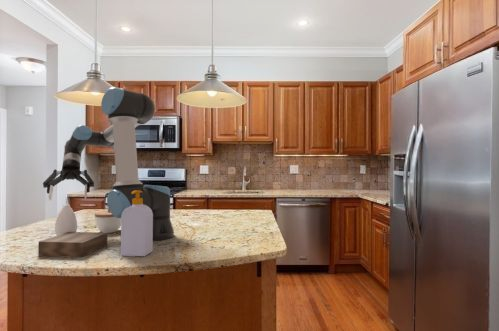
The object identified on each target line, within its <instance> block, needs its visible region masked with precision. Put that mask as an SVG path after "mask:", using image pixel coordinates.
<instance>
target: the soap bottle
mask: <svg viewBox="0 0 499 331" xmlns="http://www.w3.org/2000/svg"><path fill="white" fill-rule="evenodd" d="M134 193H136V198H133V199H132V206H130V207H128V208H126V209H125V210H124V211H123V212H122V215H121V226H120V255H121V256H122V257H135V256H144V257H146V256H147V255H149V254H150V253H152V252H153V250H154V249H153V247H154V246H153V245H154V244H153V241H154V240H153V213H152V210H151V209H150V207H148V206H146V205H143V198H140V193H142V191H139V190H135V191H132V193H131V194H134Z"/></svg>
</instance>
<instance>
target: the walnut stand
mask: <svg viewBox="0 0 499 331" xmlns="http://www.w3.org/2000/svg"><path fill="white" fill-rule="evenodd" d="M106 246H108V233H102V232H93V231H80V232H79V231H76V232H67V233H64V234H61V235H58V236H57V235H56V236H51V237H48V238H46V239H42V240H39V241H38V249H37V250H38V254H37V255H38V257H59V256H70V257H69V258H83V256H84V257H86V256H88V255H89V254H92V253H94V252H96V251H98V250H100V249H102V248H104V247H106Z"/></svg>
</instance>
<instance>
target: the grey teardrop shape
mask: <svg viewBox="0 0 499 331" xmlns="http://www.w3.org/2000/svg"><path fill="white" fill-rule="evenodd" d="M77 230H78V220H77V216H76V213H75V212H74V210H73V208H72V207H71V205H70V204H68V199H67V198H66V199H65V204H63V205H62V208H60V210H59V212H58V214H57V216H56V219H55V224H54V231H55V235H56V236H58V235H61V234H64V233H67V232H77Z"/></svg>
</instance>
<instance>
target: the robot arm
mask: <svg viewBox="0 0 499 331" xmlns="http://www.w3.org/2000/svg"><path fill="white" fill-rule="evenodd" d="M100 103H101V104H100V106H101V107H100V109H101V111H102V113H103V114H104V115H106V116H107V118H108V122H109V123H110V124H111V125H110V126H108V127H107V128H105V129H104V130H103V131H95V130H92V128H90V127H89V126H86V124H85V125H84V124H80V125H77V126H76V127H75V129H74V131H72V134H71V136H70V139H68V140H67V141H66V142H65V145H64V150H63V151H64V152H63V158H62V159H63V160H62V164H61V165H62V168H61V170H57V169H56V168H55V169H53V171H52V173H51V174H49V176H48V177H47V178H46V179H45V180H44V181H43V182H42V186H43V189H45V188H46V193H47V194H48V200H49V201H52V199H53V198H52V197H53V191H54V187H55V186H57V185H58V184H59V183H61V182H64V181H65V180H66V181H67V180H76V181H77V182H80V183H81V184H82V185H83V186H84V200H87V198H88V197H87V196H88V195H87V194H88V193H90V192H91V191H90V190H91V189H90V188H92V187H93V188H95V181H94V180H93V179H92V177H91V176H90V175H89V173H88V170H87V169H84V170H81V164H82V160H81V159H82V152H83V151H84V149H85V147H86V146H90V147H92V146H94V147H104V148H105V147H107V148H113V150H114V152H113V154H114V165H115V179H116V181H115V183H114V184H113V185H112V190H110V191H109V192H108V193H107V196H106V197H107V198H106V203H107V209H109V210H110V212H111V213H112V215H113V216H115V217H116V218H121V215H122V212H123V211H124V210H125V209H126V208H128V207H130V206H132V199H133V198H136V193H134V194H131V193H132V191H135V190H139V191H142V193H140V198H143V205H146V206H148V207H150V209H151V210H152V213H153V241H162V240H168V239H172V238H173V237H175V233H174V232H175V231H174V227H173V224H172V221H171V189H170V188H169V187H168V186H163V185H154V184H153V185H152V184H143V182H142V181H141V180H139V169H138V153H137V141H136V128H137V127H138V126H140V125H145V124H146V123H148V122H150V121H151V120H152V119H153V117H154V115H155V112H156V107H155V103H154V101H153V99H152V98H151V97H150V96H148V94H145V93H142V92H137V91H133V90H129V89H125V88H122V87H115V86H112V87H109V88H108V89H106V91H105V93H104V94H103V96H102V99H101V102H100Z"/></svg>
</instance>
